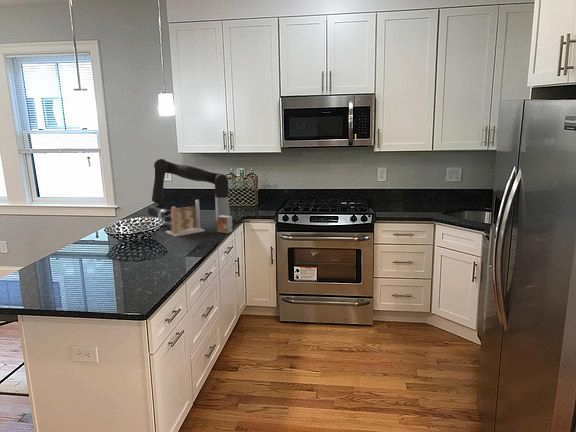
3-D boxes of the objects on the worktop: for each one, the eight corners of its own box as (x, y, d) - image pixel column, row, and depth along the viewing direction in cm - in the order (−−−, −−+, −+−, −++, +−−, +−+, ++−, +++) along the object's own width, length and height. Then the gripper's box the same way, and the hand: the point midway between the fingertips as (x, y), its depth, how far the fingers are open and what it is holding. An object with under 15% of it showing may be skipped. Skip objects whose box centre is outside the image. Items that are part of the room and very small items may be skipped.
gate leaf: (195, 227, 297) (194, 205, 294) (196, 228, 296) (195, 206, 293) (171, 231, 286) (170, 209, 283) (172, 232, 285) (171, 209, 282)
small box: (217, 232, 292) (216, 216, 290) (222, 230, 297) (221, 214, 295) (227, 233, 289) (227, 217, 286) (232, 231, 293) (232, 215, 291)
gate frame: (194, 227, 304) (193, 198, 300) (204, 231, 295) (203, 200, 291) (165, 232, 291) (164, 202, 287) (175, 236, 281) (173, 204, 277)
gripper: (156, 210, 295) (167, 215, 282) (174, 208, 303) (186, 212, 290) (156, 221, 297) (168, 226, 284) (175, 219, 305) (187, 224, 292)
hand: (177, 219), depth 287 cm, fingers closed
